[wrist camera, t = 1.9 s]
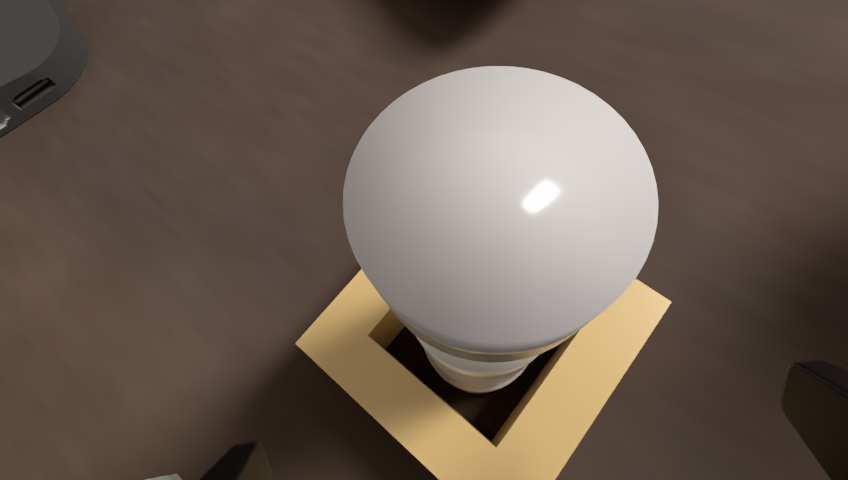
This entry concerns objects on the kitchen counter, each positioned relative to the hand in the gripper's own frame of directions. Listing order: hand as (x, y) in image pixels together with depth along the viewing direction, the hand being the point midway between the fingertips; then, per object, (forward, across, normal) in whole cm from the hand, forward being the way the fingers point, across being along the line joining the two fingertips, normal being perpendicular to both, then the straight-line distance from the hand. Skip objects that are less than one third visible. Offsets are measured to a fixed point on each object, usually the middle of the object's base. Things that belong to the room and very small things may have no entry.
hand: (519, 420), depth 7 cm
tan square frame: (+9, 0, +5) cm, 11 cm away
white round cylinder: (+9, 0, +5) cm, 11 cm away
